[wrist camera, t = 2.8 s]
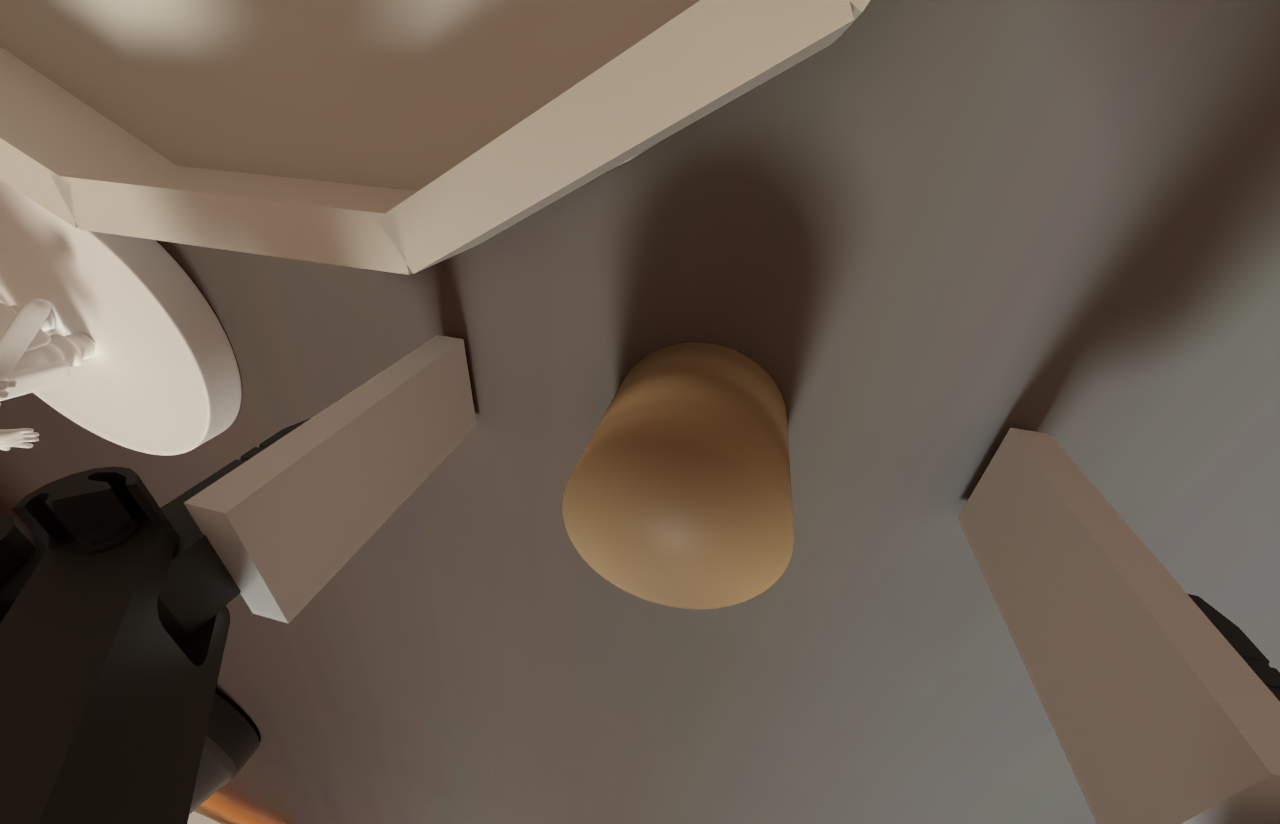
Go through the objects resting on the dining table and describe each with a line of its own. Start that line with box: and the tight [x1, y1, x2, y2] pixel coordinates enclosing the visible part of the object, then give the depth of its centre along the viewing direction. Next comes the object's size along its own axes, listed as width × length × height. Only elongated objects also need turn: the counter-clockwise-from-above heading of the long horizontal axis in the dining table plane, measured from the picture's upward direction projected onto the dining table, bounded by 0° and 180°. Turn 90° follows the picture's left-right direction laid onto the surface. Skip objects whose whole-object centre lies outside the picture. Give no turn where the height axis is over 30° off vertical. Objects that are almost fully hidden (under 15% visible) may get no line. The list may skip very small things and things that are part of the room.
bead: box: [562, 342, 794, 609], centre depth 11 cm, size 4×4×4 cm
